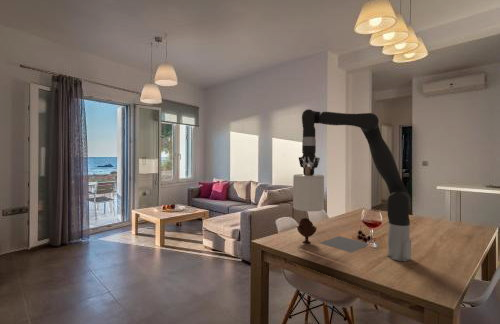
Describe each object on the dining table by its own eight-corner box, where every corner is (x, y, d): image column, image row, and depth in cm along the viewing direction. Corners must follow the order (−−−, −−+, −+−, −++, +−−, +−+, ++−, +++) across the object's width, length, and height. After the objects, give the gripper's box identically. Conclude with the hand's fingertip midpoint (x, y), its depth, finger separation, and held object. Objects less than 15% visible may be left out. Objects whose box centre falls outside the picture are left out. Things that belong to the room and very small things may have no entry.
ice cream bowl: (317, 247, 152) (317, 220, 151) (296, 246, 154) (296, 219, 154) (316, 241, 162) (316, 216, 162) (297, 240, 165) (297, 215, 164)
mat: (370, 245, 155) (370, 244, 155) (351, 253, 142) (351, 252, 142) (339, 236, 170) (339, 236, 170) (319, 243, 158) (319, 242, 157)
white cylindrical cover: (329, 208, 156) (330, 166, 155) (310, 212, 146) (311, 168, 145) (306, 204, 170) (306, 165, 169) (287, 207, 159) (287, 166, 158)
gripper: (323, 145, 153) (322, 175, 154) (303, 145, 164) (303, 173, 165) (314, 144, 148) (314, 176, 149) (295, 145, 159) (294, 174, 160)
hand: (308, 174), depth 157 cm, fingers closed on white cylindrical cover, 4 cm apart
